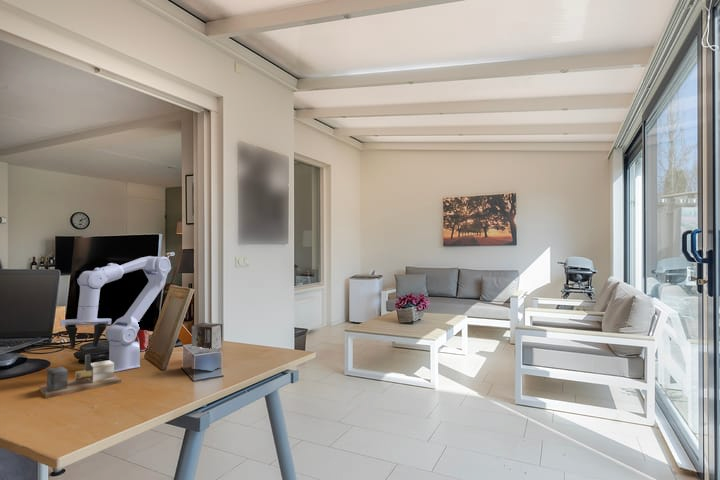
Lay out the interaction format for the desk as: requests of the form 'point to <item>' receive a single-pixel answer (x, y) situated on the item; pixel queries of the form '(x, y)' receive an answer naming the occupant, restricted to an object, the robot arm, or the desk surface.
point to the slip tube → (87, 372)
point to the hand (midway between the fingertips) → (83, 346)
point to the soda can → (142, 339)
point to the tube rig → (61, 386)
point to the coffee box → (207, 335)
